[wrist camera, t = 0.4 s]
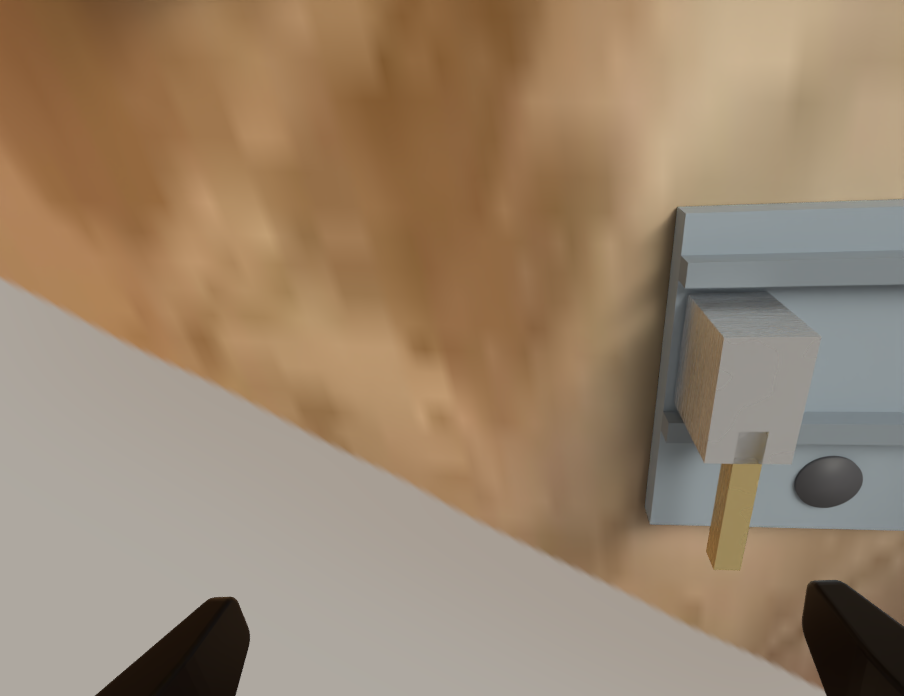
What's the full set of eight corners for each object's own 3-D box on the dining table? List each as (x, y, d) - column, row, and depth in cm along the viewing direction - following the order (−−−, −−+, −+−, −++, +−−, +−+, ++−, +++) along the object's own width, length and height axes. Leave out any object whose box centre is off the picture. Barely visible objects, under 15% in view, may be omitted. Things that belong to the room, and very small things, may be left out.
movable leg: (767, 291, 18) (821, 336, 15) (729, 498, 21) (766, 571, 18) (687, 293, 18) (724, 337, 15) (662, 497, 22) (687, 568, 18)
